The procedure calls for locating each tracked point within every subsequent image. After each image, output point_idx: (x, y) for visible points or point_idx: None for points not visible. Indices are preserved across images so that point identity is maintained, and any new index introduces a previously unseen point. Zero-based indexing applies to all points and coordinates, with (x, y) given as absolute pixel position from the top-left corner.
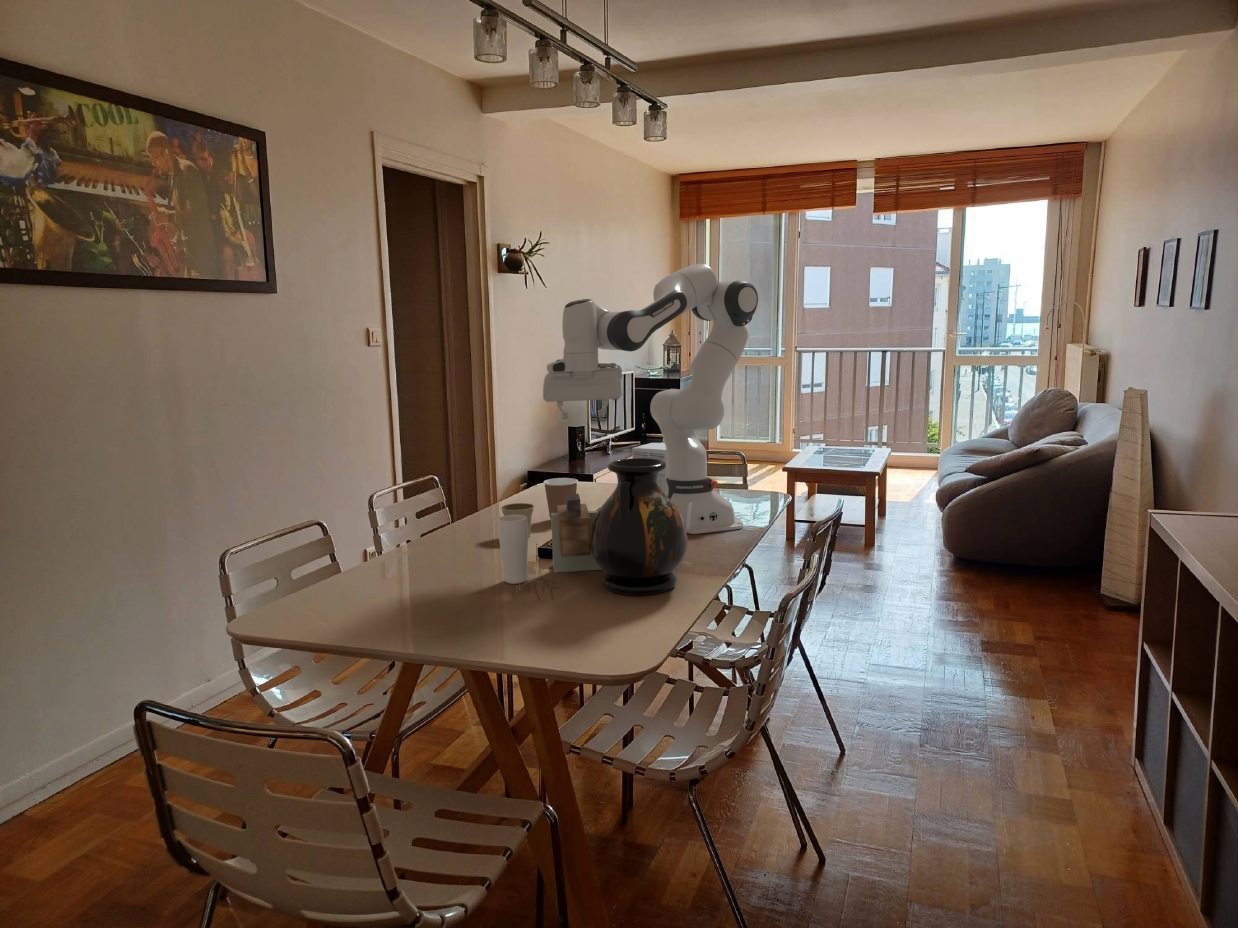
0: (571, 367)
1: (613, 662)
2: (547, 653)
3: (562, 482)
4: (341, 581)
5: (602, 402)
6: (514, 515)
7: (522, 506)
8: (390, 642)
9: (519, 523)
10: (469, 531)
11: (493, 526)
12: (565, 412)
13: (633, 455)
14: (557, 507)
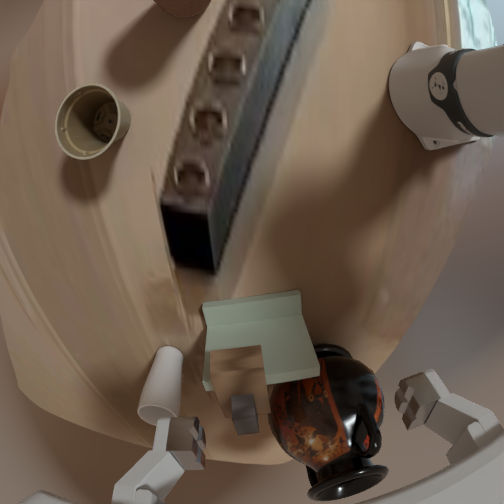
0: None
1: (275, 458)
2: (236, 454)
3: None
4: (9, 325)
5: (459, 444)
6: (153, 405)
7: (94, 87)
8: (131, 438)
9: None
10: (34, 95)
11: (63, 55)
12: (191, 468)
13: None
14: (213, 386)
